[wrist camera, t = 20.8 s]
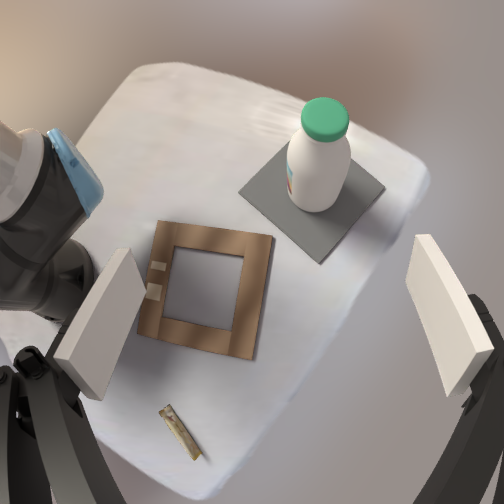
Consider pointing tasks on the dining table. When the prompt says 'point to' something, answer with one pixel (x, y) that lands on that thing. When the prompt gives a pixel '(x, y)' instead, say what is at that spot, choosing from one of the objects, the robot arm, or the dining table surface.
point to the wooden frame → (248, 294)
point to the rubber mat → (303, 222)
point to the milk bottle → (318, 155)
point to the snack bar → (180, 432)
